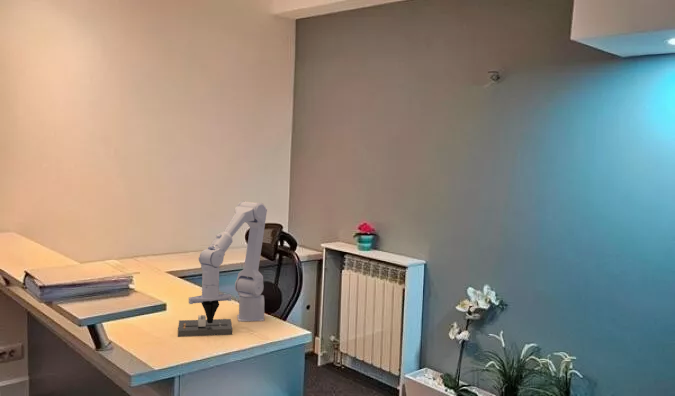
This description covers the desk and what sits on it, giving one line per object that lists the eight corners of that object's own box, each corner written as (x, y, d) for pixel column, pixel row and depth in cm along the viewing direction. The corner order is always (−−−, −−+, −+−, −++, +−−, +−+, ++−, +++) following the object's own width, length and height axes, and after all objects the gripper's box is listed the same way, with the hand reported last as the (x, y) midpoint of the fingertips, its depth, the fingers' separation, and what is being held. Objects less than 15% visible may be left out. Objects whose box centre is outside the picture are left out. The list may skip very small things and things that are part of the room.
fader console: (230, 324, 213) (230, 318, 213) (232, 334, 202) (232, 328, 201) (179, 326, 209) (179, 320, 209) (177, 336, 197) (177, 330, 197)
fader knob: (205, 322, 207) (205, 314, 206) (205, 326, 202) (205, 319, 202) (198, 322, 206) (198, 315, 206) (198, 326, 201) (198, 319, 201)
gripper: (227, 279, 210) (226, 317, 211) (186, 282, 204) (186, 321, 205) (233, 284, 204) (232, 322, 205) (191, 287, 197) (190, 327, 198)
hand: (209, 322), depth 204 cm, fingers closed
